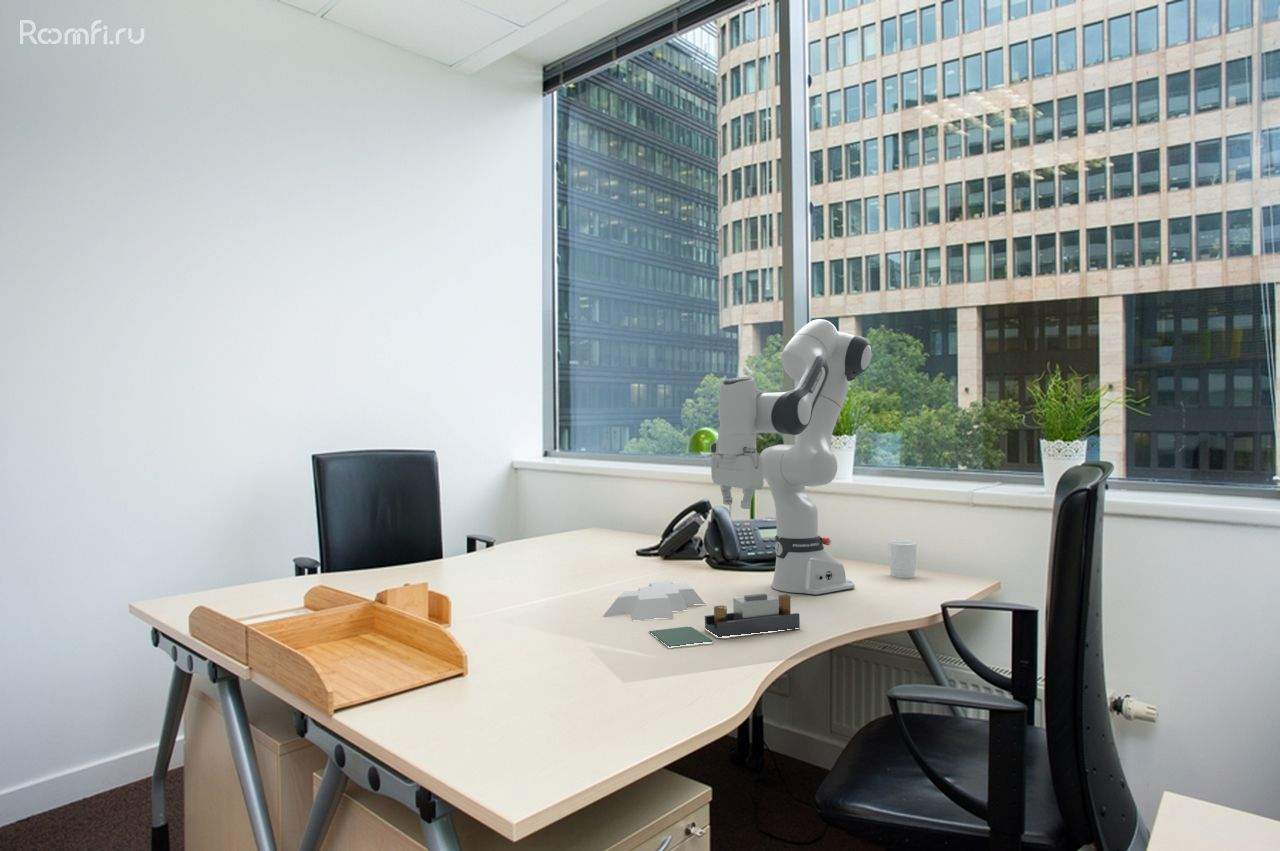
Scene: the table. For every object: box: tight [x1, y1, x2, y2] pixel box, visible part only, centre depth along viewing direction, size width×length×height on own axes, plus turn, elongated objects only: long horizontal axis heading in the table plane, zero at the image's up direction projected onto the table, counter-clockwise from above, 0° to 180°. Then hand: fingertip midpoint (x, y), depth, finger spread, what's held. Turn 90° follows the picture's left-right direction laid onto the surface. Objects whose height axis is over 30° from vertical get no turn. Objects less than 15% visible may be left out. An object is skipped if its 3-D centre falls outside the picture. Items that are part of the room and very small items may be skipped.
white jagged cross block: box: [602, 579, 706, 622], centre depth 193 cm, size 35×20×6 cm, turn 145°
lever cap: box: [732, 593, 779, 620], centre depth 173 cm, size 9×4×6 cm, turn 110°
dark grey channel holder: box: [704, 594, 801, 637], centre depth 173 cm, size 20×7×7 cm, turn 110°
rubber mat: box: [648, 626, 714, 647], centre depth 167 cm, size 10×12×1 cm
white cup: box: [887, 539, 917, 579], centre depth 227 cm, size 8×8×10 cm
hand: (736, 506), depth 179 cm, fingers open, 8 cm apart
